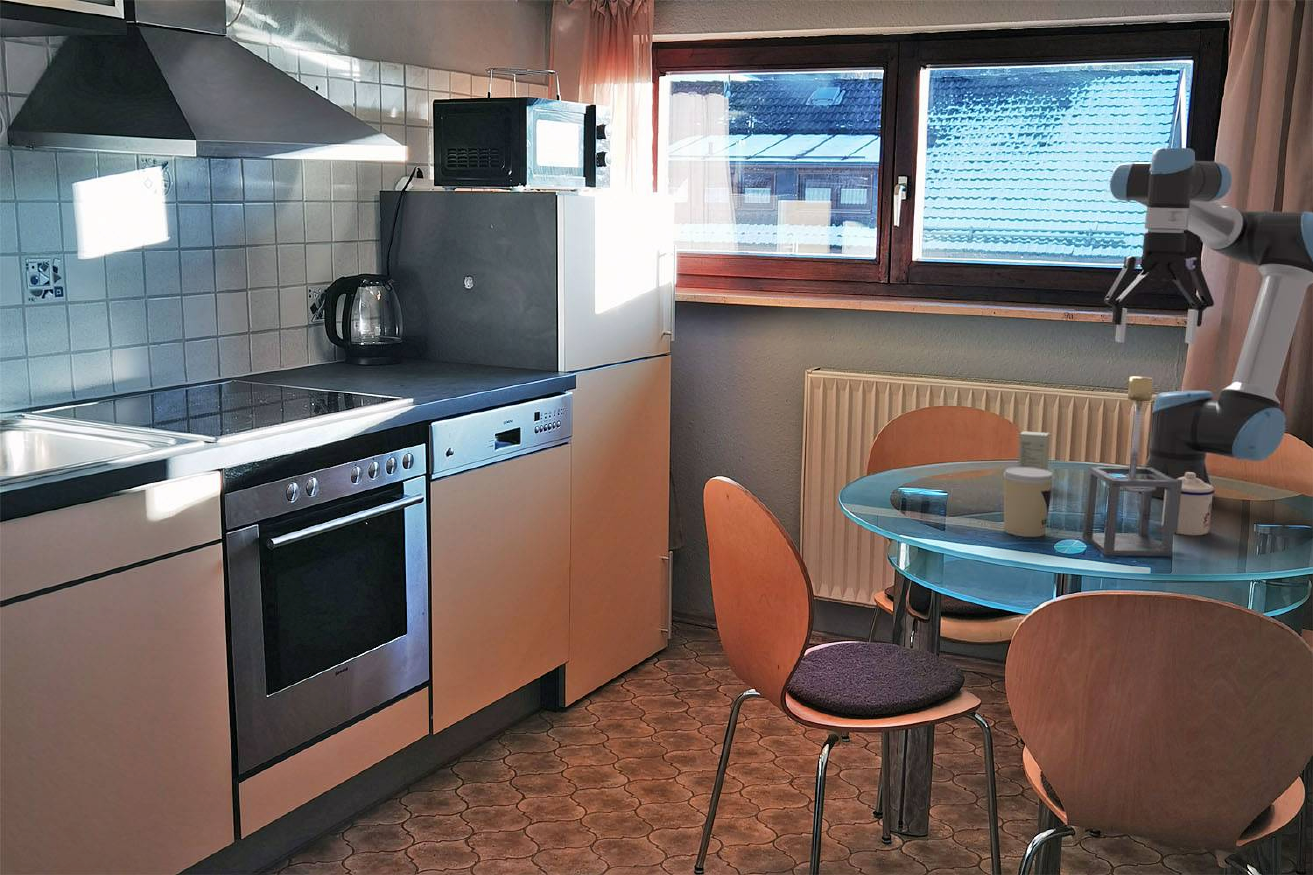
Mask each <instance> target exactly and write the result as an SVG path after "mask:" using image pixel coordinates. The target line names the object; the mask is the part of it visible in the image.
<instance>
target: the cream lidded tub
mask: <svg viewBox="0 0 1313 875" xmlns="http://www.w3.org/2000/svg"><path fill="white" fill-rule="evenodd" d="M1054 479H1055V477H1054V474H1053V472H1052V471H1049V469H1048V470H1044V469H1039V468H1031V467H1018V466H1015V467H1014V466H1013V467H1007V468H1006V469H1005V471H1004V472H1003V530H1004V532H1006V533H1007V534H1009V535H1012V534H1013V536H1017V537H1026V538H1031V537H1032V538H1033V537H1035V538H1037V537H1042V536H1044V535H1045V534H1046V527H1047V523H1048V515H1049V511H1050V503H1051V496H1052V490H1053V484H1054V483H1053V482H1054Z"/></svg>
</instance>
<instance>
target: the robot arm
mask: <svg viewBox="0 0 1313 875" xmlns="http://www.w3.org/2000/svg"><path fill="white" fill-rule="evenodd" d="M1195 155H1196V152H1195V151H1194V149H1192V148H1189V147H1162V148H1156V149H1155V150H1154V151H1153V152H1152V156H1151V162H1150V161H1149V162H1147V161H1145V162H1137V161H1133V162H1125V163H1121V164H1119V165H1117V166H1116V167H1115V168H1114V170H1113V171H1112V173H1111V177H1110V181H1109V189H1110V193H1111V194H1112V196H1113V197H1114V198H1115V199H1116V200H1119V201H1126V202H1131V201H1132V202H1133V201H1134V202H1138V203H1139V204H1142V205H1143V206H1145V207H1146V214H1145V221H1144V229H1146V230H1147V231H1146V232H1145V233H1144V234H1143V241H1142V242H1143V243H1142V244H1143V245H1142V254H1141V256H1140V258H1139V257H1135V256H1132V255H1131V256H1130V255H1127V256H1125V258H1124V261H1123V266H1122V269H1121V271H1120V272H1119V274H1118V276H1117V277H1116V279H1115V281H1114V282H1113V284H1112V285H1111V287H1110V289H1109V291H1108V293H1106V296H1105V297H1104V299H1103V303H1104V304H1106V305H1109V306H1110V307H1112V309H1113V310H1112V311H1113V312H1112V318H1111V319H1112V321H1111V322H1112V324H1113V325H1116V328H1115V337H1114V338H1115V340H1114V341H1115V342H1116V343H1120V344H1121V343H1123V344H1125V337H1126V328H1127V318H1128V317H1127V316H1128V308H1124V307H1125V306H1126V305H1127V304H1128V303H1129V301H1130V300H1131V299H1132V298H1133V297H1134V296H1136V294H1137V293H1138V292H1139V291H1140V290H1141V289H1142V288H1143V286H1144V285H1146V284H1147V283H1148V282H1150V281H1154V282H1155V281H1156V282H1159V281H1165V282H1171V281H1172V282H1173V283H1174V284H1175V285H1176V286H1177V288H1178V289H1179V290H1180V292H1181V293H1182V295H1183V296H1184V297H1185V299H1186V300H1187V302H1188V303H1189V304H1190V306H1191V307H1192V309H1191V308H1188V310H1187V318H1186V320H1187V321H1186V328H1185V336H1184V339H1185V340H1184V343H1185V344H1189V345H1195V344H1196V336H1197V327H1198V328H1199V327H1201V325H1202V322H1203V314H1204V311H1205V310H1206V309H1208V308H1209V307H1210V308H1212V307H1213V306H1214V304H1215V301H1214V299H1213V297H1212V294H1211V291H1210V289H1209V286H1208V283H1207V281H1206V278H1205V276H1204V273H1203V270H1202V259H1201V258H1200V257H1191V258H1186V256H1185V253H1186V247H1187V246H1186V245H1187V238H1188V236H1187V234H1186V233H1184V232H1185V231H1189V232H1191V233H1193V235H1197V236H1198V237H1199V238H1200V241H1201V242H1202V244H1203V245H1204V246H1205V247H1207V248H1209V249H1211V250H1212V251H1214V252H1216V253H1219V254H1221V255H1222V256H1223V257H1227V258H1229V259H1231V260H1234V261H1236V262H1239V263H1243V264H1247V265H1252V266H1258V267H1257V270H1258V272H1259V273H1260V275H1261V276H1262V282H1261V285H1260V288H1259V290H1258V294H1257V299H1256V302H1255V305H1254V307H1253V311H1252V313H1251V314H1252V315H1251V318H1250V322H1249V325H1248V329H1247V331H1246V335H1245V338H1244V341H1243V344H1242V348H1241V352H1240V355H1239V357H1238V361H1237V364H1236V367H1235V370H1234V375H1233V378H1232V380H1231V384H1230V385H1227V386H1226V387H1224V388H1222V389H1221V391H1220V394H1219V398H1218V399H1213V398H1214V396H1213V392H1212V391H1209V390H1175V391H1164V392H1160V393H1158V394H1157V395H1156V396H1155V398H1154V401H1153V402H1154V403H1153V407H1152V411H1151V413H1152V416H1151V417H1152V418H1151V427H1150V440H1149V451H1148V458H1147V460H1146V463H1145V464H1144V467H1151V468H1153V469H1155V470H1157V471H1159V472H1161V473H1163V474H1165V475H1167V476H1169V477H1171V478H1173V479H1178V478H1180V477H1185V473H1186V472H1193V473H1195V474H1196V477H1195V478H1198V479H1200V480H1202V481H1203V482H1204V483H1207V484H1209V485H1211V486H1212V484H1211V480H1210V476H1209V472H1208V468H1207V463H1206V461H1207V460H1206V458H1207V454H1212V455H1217V456H1222V457H1228V458H1233V459H1236V460H1239V461H1249V462H1250V461H1251V462H1261V461H1263V460H1267V459H1268V458H1269V457H1270V456H1272V455H1273V454H1274V453H1275V452H1276V450H1277V449H1278V448H1279V446H1280V445H1281V443H1282V440H1283V439H1284V436H1285V434H1286V424H1285V423H1286V422H1287V419H1286V415H1285V414H1284V412H1283V411H1282V410H1281V409H1280V406H1281V402H1280V400H1279V399H1278V397H1277V395H1276V392H1277V389H1278V384H1279V382H1280V379H1281V376H1282V371H1283V369H1284V366H1285V361H1286V358H1287V355H1288V352H1289V348H1290V345H1291V343H1292V342H1291V341H1292V338H1293V335H1294V333H1295V332H1294V331H1295V328H1296V325H1297V322H1298V319H1299V315H1300V312H1301V309H1302V306H1303V302H1304V298H1305V295H1306V292H1307V288H1308V287H1309V286H1310V285H1312V284H1313V211H1312V212H1311V211H1310V210H1309V211H1308V210H1306V211H1262V210H1261V211H1256V210H1255V211H1253V210H1250V211H1249V210H1240V209H1237V208H1236V207H1233V206H1231V205H1220V204H1219V203H1217V202H1216V201H1218V200H1220V199H1222V198H1223V197H1225V196H1226V195H1227V193H1228V192H1229V190H1230V188H1231V186H1232V174H1231V171H1230V169H1229V168H1228V167H1227V166H1226V165H1225V164H1222V163H1220V162H1217V161H1216V162H1215V161H1214V160H1210V161H1209V160H1207V161H1206V160H1196V156H1195ZM1138 266H1140V267H1141V270H1142V271H1140V273H1139V274H1137V276H1136V278H1135V279H1134V280H1133V281H1132V282H1131V283H1130V284H1129V286H1127V287H1126V289H1125V290H1124V291H1123V289H1124V287H1125V285H1126V284H1127V282H1128V281H1129V279H1130V278H1131V276H1132V274H1133V272H1134V269H1137V267H1138ZM1185 267H1186V268H1187V269H1188V271H1189V272H1190V275H1191V278H1192V280H1193V283H1194V286H1195V288H1196V290H1197V293H1198V294H1197V293H1196V292H1195V290H1194V289H1193V288H1192V287H1191V285H1190V284H1189V282H1188V281H1187V279H1186V277H1185V275H1184V274H1183V272H1182V271H1183V269H1184V268H1185ZM1122 291H1123V292H1122ZM1198 295H1199V296H1198ZM1139 475H1140V476H1139V477H1138V479H1143V474H1139ZM1153 480H1157V479H1155V478H1154V479H1153ZM1140 494H1142V492H1140ZM1164 495H1165V488H1164V487H1156V490H1154V491H1152V497H1154V498H1158V499H1164Z"/></svg>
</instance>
